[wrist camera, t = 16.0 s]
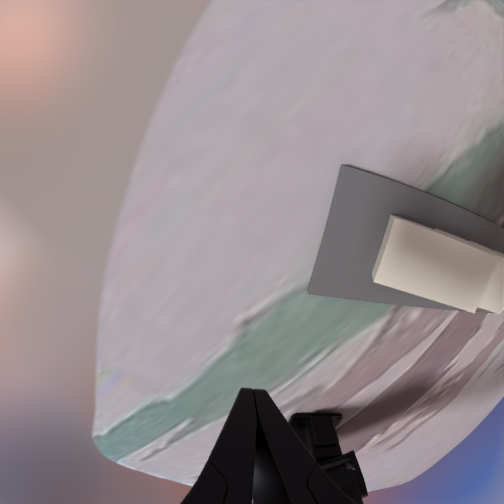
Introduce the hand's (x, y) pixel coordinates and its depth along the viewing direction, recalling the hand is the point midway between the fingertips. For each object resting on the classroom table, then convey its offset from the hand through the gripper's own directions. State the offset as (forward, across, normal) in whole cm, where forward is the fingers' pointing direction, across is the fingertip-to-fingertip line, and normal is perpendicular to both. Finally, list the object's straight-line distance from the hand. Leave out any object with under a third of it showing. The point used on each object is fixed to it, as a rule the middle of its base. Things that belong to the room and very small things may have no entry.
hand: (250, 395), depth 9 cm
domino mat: (+13, -19, -3) cm, 23 cm away
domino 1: (+12, -10, -3) cm, 16 cm away
